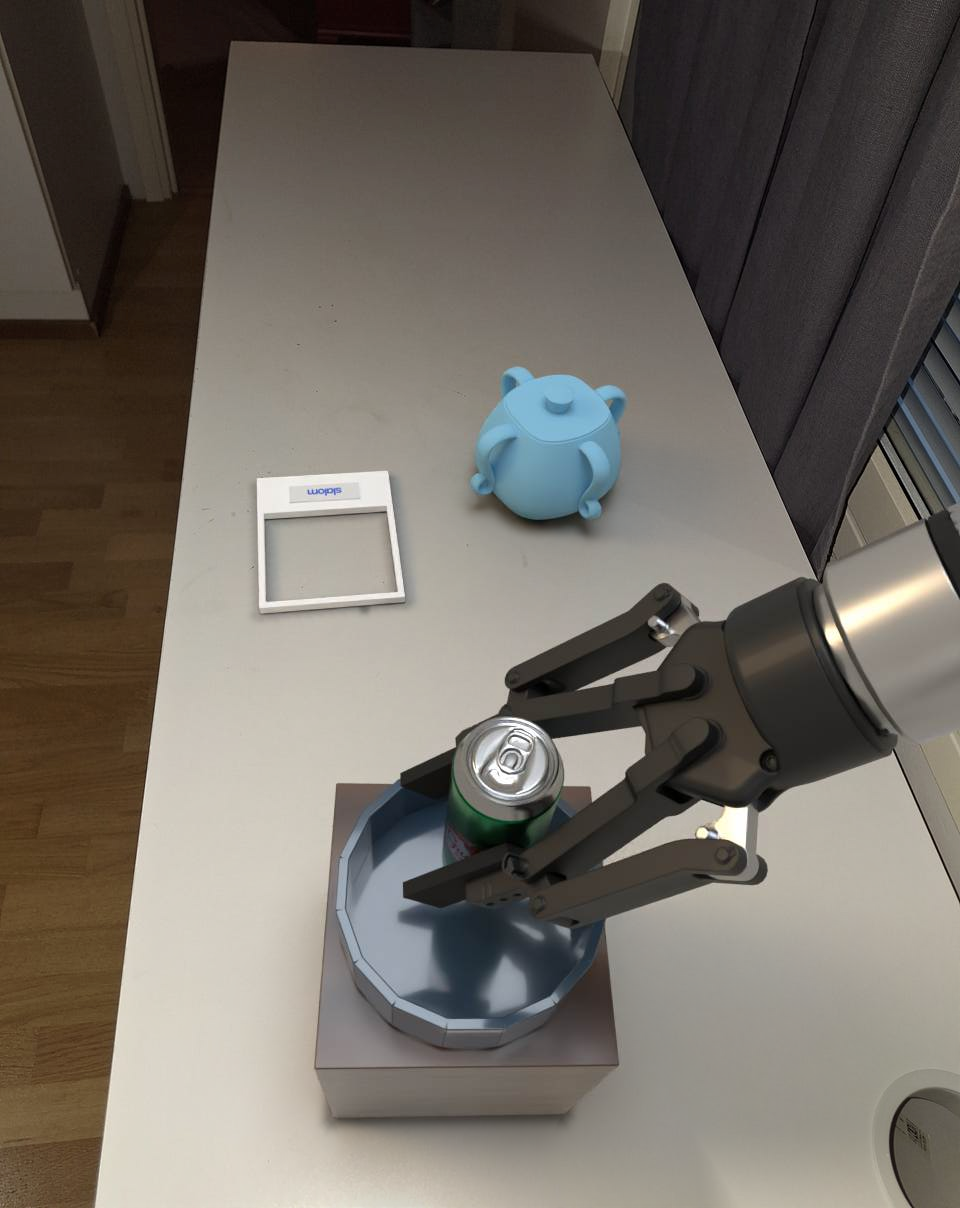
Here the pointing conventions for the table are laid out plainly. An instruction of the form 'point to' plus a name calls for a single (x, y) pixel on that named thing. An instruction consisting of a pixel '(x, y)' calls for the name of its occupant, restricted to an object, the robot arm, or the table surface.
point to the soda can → (501, 788)
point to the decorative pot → (550, 445)
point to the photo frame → (325, 499)
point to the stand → (445, 1075)
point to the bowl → (447, 936)
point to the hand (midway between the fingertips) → (420, 839)
